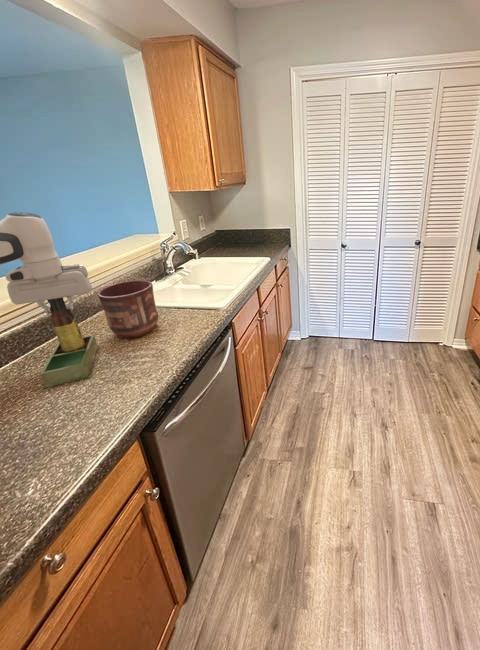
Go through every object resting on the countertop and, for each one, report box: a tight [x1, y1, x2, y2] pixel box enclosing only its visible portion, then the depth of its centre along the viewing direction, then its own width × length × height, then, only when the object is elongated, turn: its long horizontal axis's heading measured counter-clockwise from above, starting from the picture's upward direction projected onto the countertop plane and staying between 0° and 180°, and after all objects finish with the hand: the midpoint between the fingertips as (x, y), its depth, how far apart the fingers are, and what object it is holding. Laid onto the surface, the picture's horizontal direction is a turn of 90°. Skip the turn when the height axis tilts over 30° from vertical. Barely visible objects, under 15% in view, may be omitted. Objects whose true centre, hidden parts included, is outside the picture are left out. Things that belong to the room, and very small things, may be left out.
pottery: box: [97, 279, 160, 340], centre depth 120 cm, size 18×18×18 cm
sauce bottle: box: [46, 297, 85, 353], centre depth 103 cm, size 7×6×20 cm
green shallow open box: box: [40, 334, 99, 388], centre depth 103 cm, size 11×20×5 cm, turn 23°
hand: (60, 311), depth 101 cm, fingers closed on sauce bottle, 4 cm apart
